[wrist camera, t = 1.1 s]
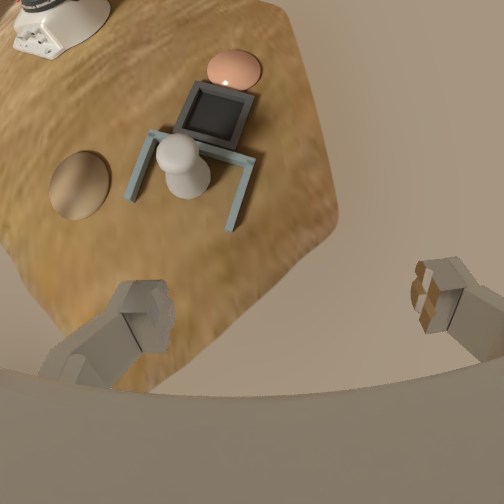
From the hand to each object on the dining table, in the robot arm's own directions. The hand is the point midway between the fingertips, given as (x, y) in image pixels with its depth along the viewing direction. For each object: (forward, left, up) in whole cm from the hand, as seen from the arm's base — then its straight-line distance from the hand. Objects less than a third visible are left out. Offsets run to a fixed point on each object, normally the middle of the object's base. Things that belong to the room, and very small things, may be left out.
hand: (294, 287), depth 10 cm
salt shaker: (-10, +9, -32) cm, 35 cm away
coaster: (-10, +27, -32) cm, 43 cm away
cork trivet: (-26, +4, -32) cm, 42 cm away
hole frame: (-10, +19, -32) cm, 38 cm away
